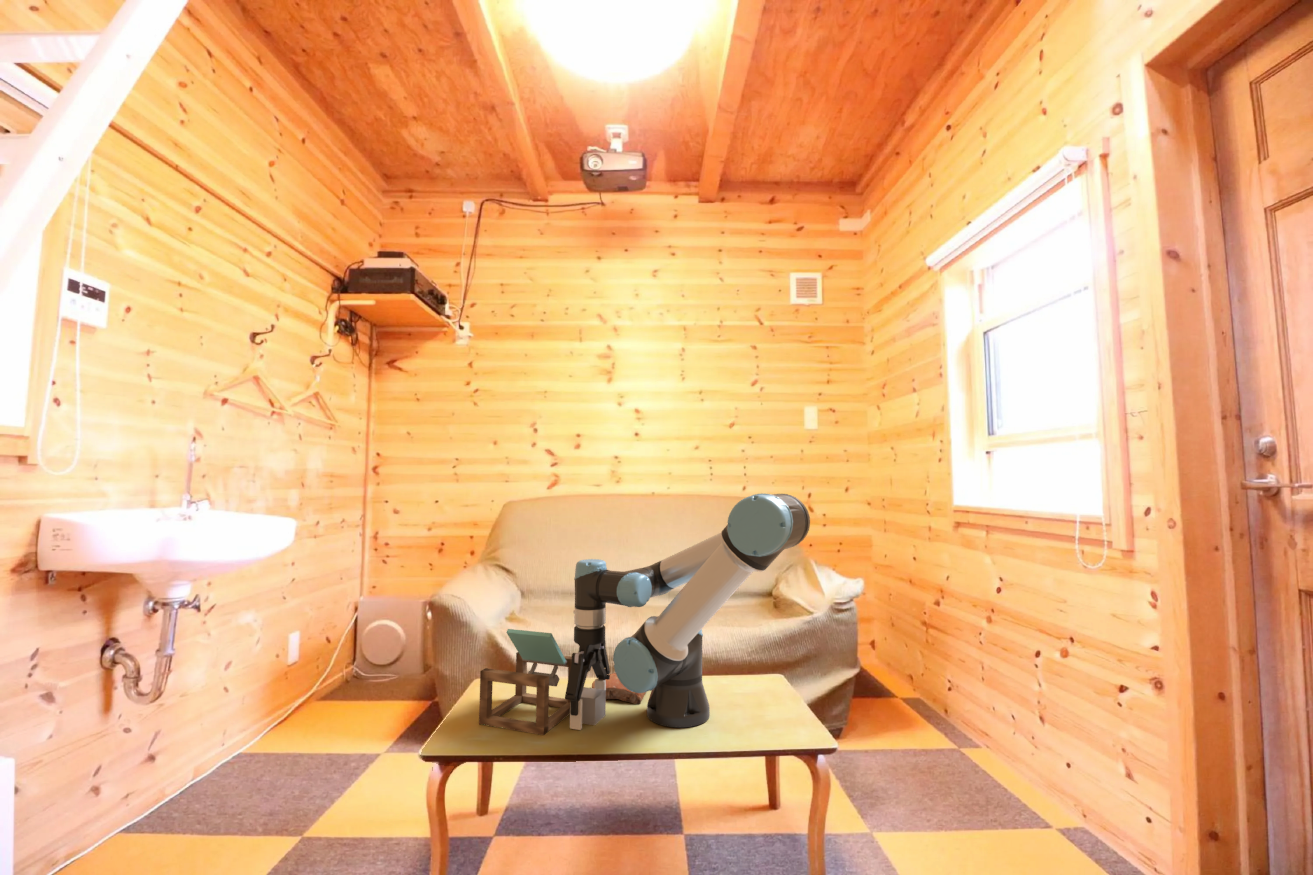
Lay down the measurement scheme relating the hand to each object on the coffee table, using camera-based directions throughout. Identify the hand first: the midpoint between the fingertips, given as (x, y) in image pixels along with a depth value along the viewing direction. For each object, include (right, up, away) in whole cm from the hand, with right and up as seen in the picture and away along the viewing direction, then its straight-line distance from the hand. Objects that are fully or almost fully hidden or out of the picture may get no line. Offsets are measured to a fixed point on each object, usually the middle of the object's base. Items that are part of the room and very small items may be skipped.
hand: (588, 717), depth 134 cm
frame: (-14, 0, +2) cm, 14 cm away
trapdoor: (-14, +11, +3) cm, 18 cm away
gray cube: (0, 0, 0) cm, 0 cm away
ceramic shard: (+7, -2, +17) cm, 19 cm away
